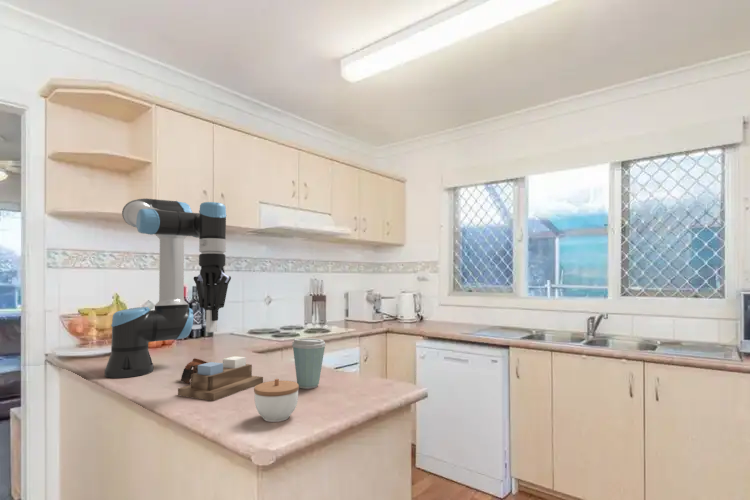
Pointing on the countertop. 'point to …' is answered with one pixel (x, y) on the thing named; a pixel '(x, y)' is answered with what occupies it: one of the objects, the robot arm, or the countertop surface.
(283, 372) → the countertop surface
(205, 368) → the light blue block
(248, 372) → the wooden stepped stand
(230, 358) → the white block
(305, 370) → the disposable coffee cup
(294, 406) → the lidded jar
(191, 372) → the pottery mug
